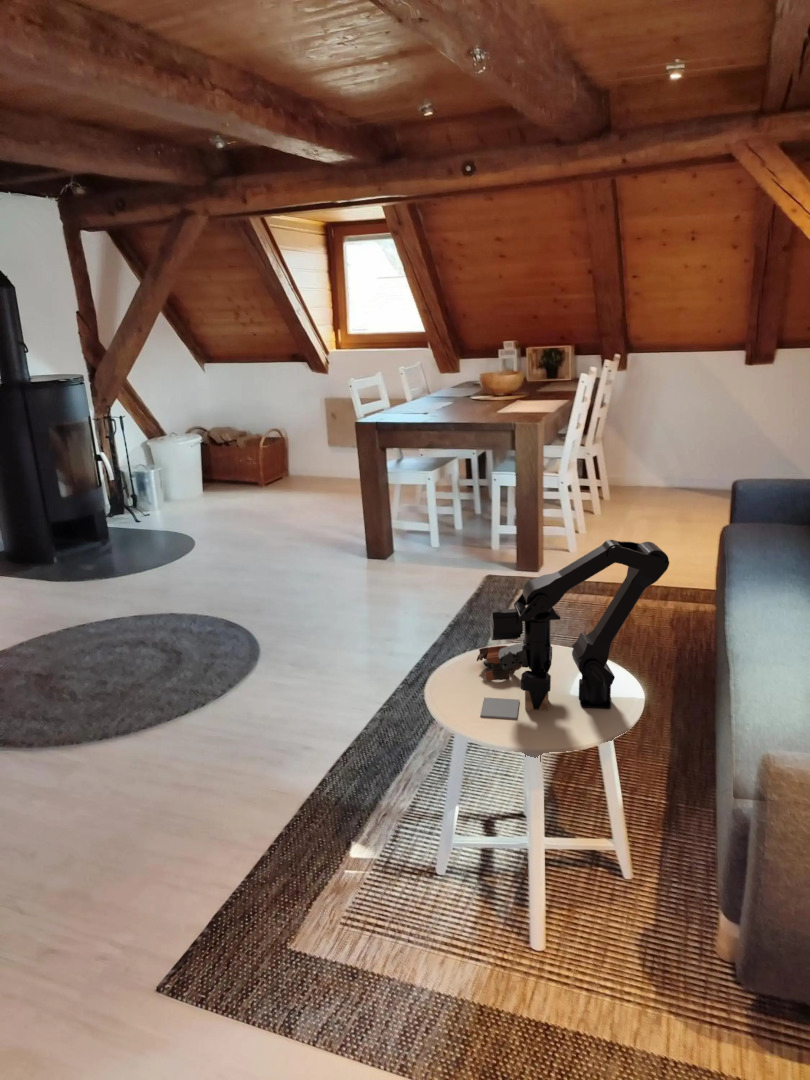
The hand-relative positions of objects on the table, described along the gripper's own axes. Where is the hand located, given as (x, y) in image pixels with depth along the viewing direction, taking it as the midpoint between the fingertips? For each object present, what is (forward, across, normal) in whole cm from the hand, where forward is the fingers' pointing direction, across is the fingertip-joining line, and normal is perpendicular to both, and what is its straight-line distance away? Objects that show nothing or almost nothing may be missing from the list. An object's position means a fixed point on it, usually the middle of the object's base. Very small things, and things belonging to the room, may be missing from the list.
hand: (536, 700), depth 175 cm
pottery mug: (+1, -14, -9) cm, 17 cm away
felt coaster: (+1, +3, -8) cm, 9 cm away
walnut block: (+1, 0, 0) cm, 1 cm away
